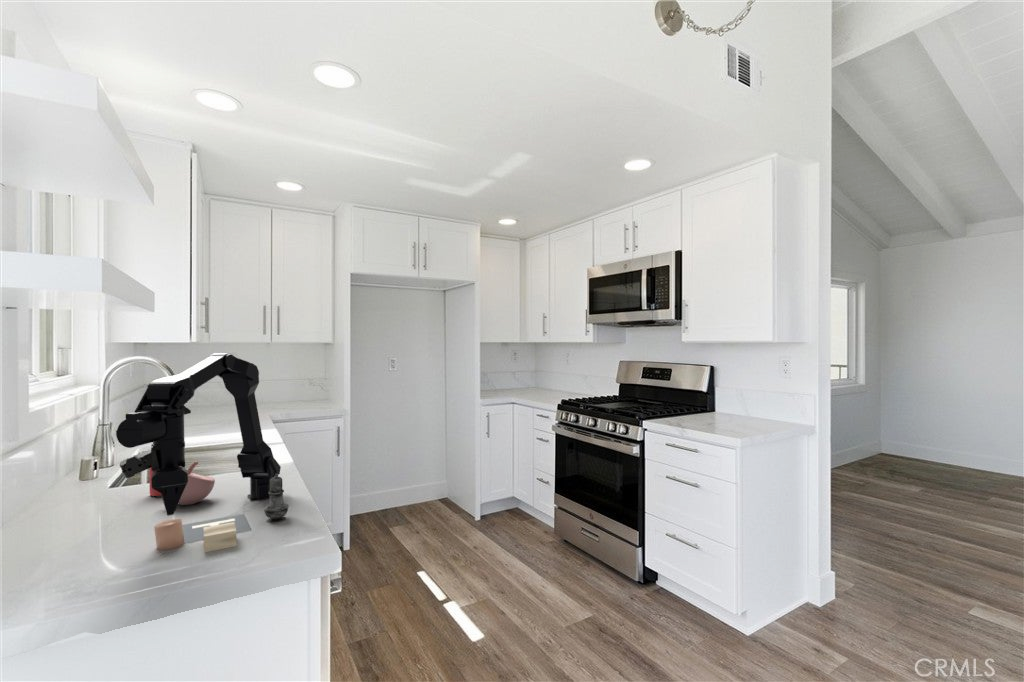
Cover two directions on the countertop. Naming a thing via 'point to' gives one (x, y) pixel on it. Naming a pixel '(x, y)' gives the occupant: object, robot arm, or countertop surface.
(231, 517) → the letter mat
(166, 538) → the terracotta cylinder
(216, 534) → the maple block
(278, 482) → the salt shaker
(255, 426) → the robot arm
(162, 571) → the countertop surface
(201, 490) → the mortar and pestle
